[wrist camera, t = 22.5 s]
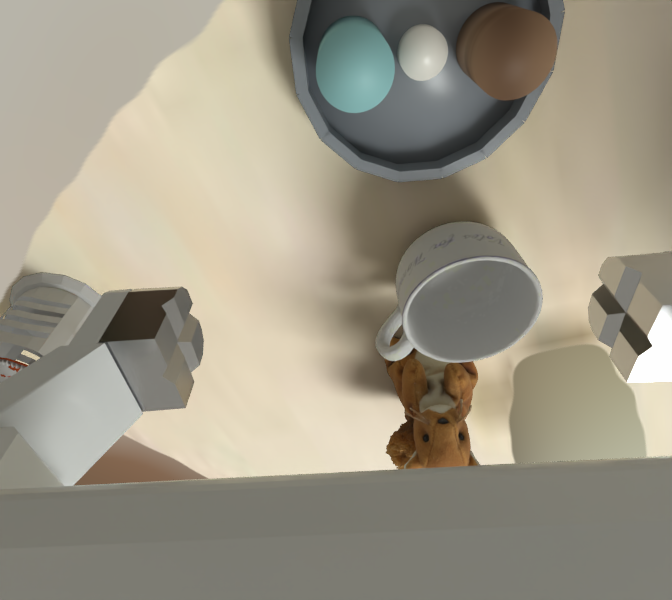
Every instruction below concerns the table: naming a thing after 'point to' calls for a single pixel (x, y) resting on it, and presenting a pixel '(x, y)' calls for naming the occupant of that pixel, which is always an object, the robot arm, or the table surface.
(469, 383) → the stuffed squirrel
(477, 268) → the teacup
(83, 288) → the french press
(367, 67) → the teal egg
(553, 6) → the groove tray
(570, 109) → the table surface
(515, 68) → the walnut bead
